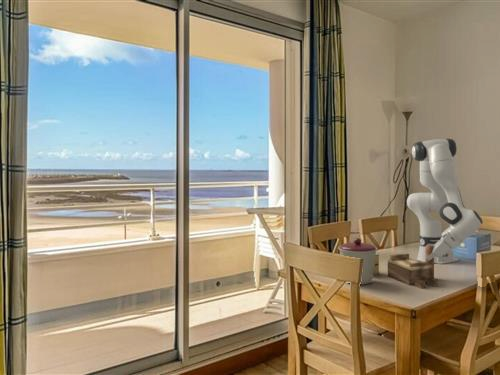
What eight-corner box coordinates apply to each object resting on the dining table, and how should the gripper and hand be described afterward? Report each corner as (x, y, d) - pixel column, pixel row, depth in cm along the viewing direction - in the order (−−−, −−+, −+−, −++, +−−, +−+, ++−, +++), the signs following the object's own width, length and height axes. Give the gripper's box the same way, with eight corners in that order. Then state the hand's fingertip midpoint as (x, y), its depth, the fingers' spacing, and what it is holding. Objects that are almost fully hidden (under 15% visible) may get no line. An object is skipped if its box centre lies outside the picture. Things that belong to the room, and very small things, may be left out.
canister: (347, 288, 185) (347, 242, 184) (332, 278, 203) (332, 235, 202) (384, 286, 189) (384, 240, 187) (366, 275, 206) (366, 234, 205)
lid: (407, 259, 208) (407, 252, 207) (433, 267, 191) (433, 260, 191) (387, 261, 204) (387, 254, 204) (411, 270, 187) (411, 262, 187)
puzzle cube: (351, 273, 211) (351, 254, 211) (362, 269, 218) (362, 251, 217) (367, 277, 204) (367, 257, 203) (379, 273, 210) (379, 254, 210)
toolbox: (407, 273, 208) (407, 260, 208) (440, 285, 187) (440, 270, 187) (387, 276, 204) (387, 262, 204) (418, 288, 183) (418, 273, 183)
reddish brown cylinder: (430, 277, 201) (430, 245, 200) (435, 279, 198) (435, 246, 197) (423, 278, 200) (423, 245, 199) (429, 280, 196) (429, 247, 195)
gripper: (446, 230, 204) (425, 248, 209) (445, 237, 185) (421, 256, 190) (456, 239, 202) (434, 257, 207) (456, 247, 184) (432, 266, 189)
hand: (428, 257), depth 199 cm, fingers open, 8 cm apart
